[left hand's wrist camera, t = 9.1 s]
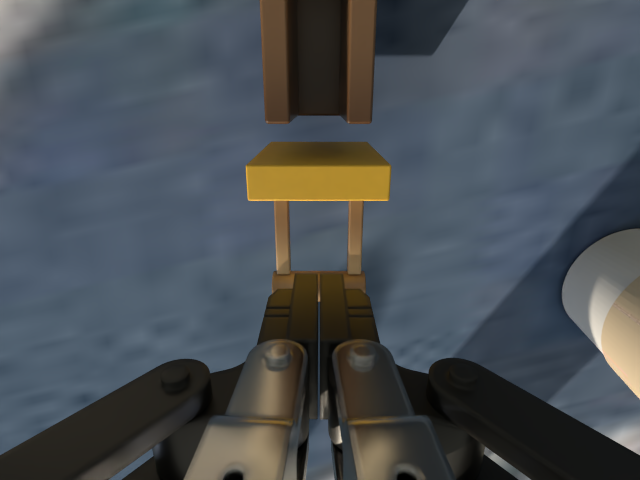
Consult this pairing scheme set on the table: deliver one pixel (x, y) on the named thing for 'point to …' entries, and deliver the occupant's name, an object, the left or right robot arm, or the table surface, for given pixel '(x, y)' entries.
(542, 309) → the table surface
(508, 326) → the table surface
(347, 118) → the drawer
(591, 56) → the table surface
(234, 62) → the table surface
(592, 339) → the coffee cup
